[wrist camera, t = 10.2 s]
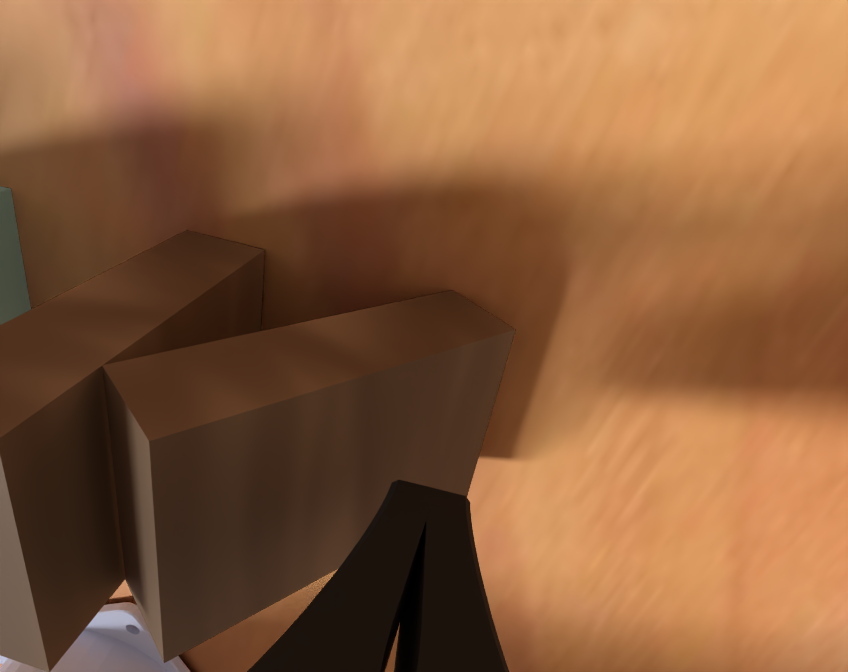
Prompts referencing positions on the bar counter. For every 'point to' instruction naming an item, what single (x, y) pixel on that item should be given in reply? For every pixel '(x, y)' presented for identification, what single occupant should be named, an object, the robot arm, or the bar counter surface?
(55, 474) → the domino
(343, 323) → the domino
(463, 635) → the robot arm
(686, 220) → the bar counter surface
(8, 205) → the domino
